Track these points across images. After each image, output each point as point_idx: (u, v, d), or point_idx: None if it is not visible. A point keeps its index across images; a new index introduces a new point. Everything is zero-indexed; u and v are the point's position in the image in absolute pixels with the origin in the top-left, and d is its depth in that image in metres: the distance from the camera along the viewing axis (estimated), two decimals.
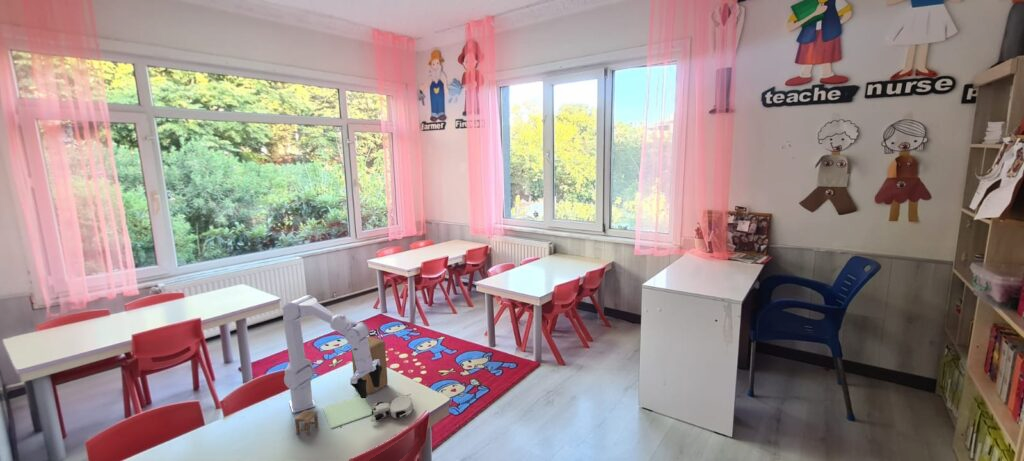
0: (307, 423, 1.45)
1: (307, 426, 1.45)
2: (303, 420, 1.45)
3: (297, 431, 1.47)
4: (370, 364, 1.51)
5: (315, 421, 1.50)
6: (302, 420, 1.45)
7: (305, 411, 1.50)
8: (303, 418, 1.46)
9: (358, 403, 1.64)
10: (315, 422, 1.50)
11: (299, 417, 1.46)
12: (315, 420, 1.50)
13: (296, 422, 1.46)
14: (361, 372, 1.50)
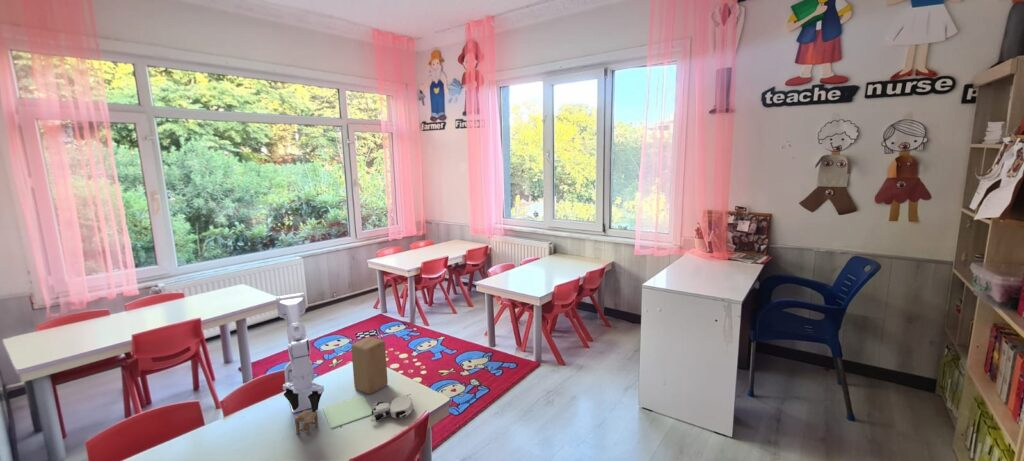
0: (307, 423, 1.45)
1: (307, 426, 1.45)
2: (303, 420, 1.45)
3: (297, 431, 1.47)
4: (296, 385, 1.43)
5: (315, 421, 1.50)
6: (302, 420, 1.45)
7: (305, 411, 1.50)
8: (303, 418, 1.46)
9: (358, 403, 1.64)
10: (315, 422, 1.50)
11: (299, 417, 1.46)
12: (315, 420, 1.50)
13: (296, 422, 1.46)
14: None
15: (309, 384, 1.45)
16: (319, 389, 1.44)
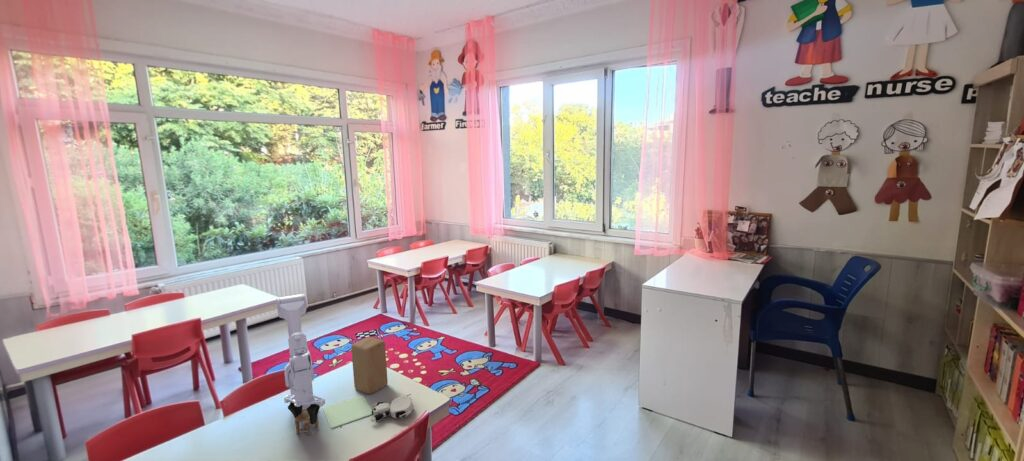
0: (307, 423, 1.45)
1: (307, 426, 1.45)
2: (303, 420, 1.45)
3: (297, 431, 1.47)
4: (297, 398, 1.44)
5: None
6: (302, 420, 1.45)
7: (305, 411, 1.50)
8: (303, 418, 1.46)
9: (358, 403, 1.64)
10: (315, 422, 1.50)
11: (299, 417, 1.46)
12: None
13: (296, 422, 1.46)
14: None
15: (310, 397, 1.46)
16: (320, 402, 1.45)
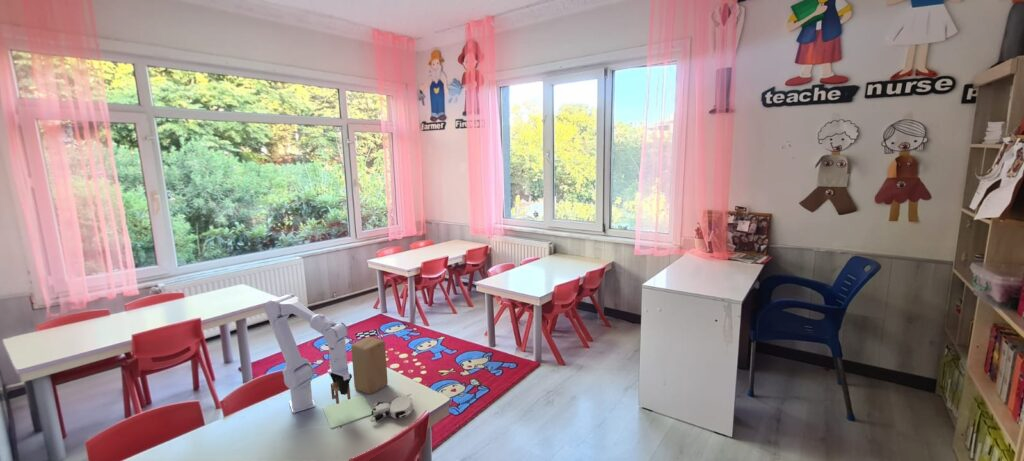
0: (335, 392, 1.53)
1: (335, 395, 1.53)
2: (333, 388, 1.54)
3: (332, 396, 1.57)
4: (330, 365, 1.53)
5: (347, 392, 1.56)
6: (333, 387, 1.54)
7: None
8: (334, 386, 1.54)
9: (358, 403, 1.64)
10: (347, 393, 1.56)
11: (333, 384, 1.56)
12: (347, 391, 1.56)
13: (331, 387, 1.56)
14: None
15: (341, 368, 1.53)
16: (344, 376, 1.50)
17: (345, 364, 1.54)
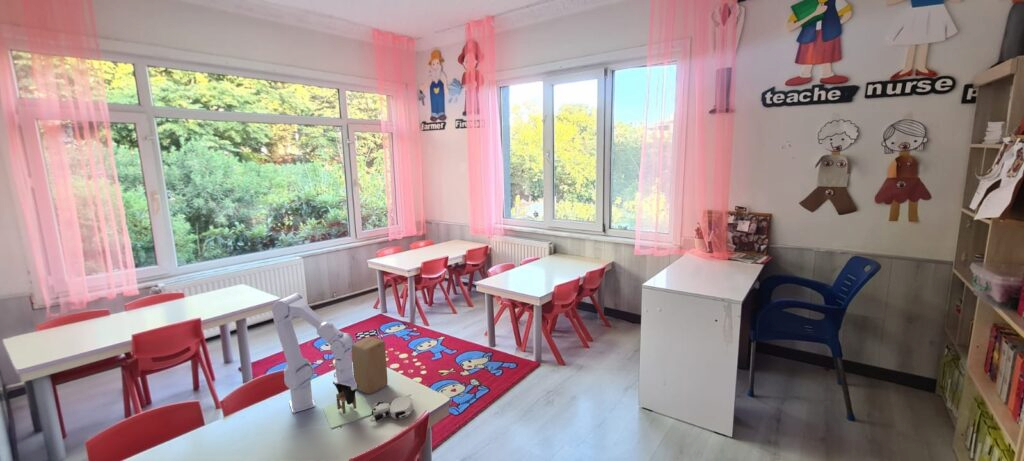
0: (342, 402, 1.55)
1: (342, 405, 1.56)
2: (340, 398, 1.56)
3: (337, 406, 1.59)
4: (337, 376, 1.55)
5: (353, 402, 1.59)
6: (339, 398, 1.56)
7: None
8: (341, 396, 1.57)
9: (358, 403, 1.64)
10: (353, 403, 1.59)
11: (339, 394, 1.58)
12: (353, 401, 1.59)
13: (337, 398, 1.58)
14: None
15: (347, 378, 1.55)
16: (351, 386, 1.52)
17: (351, 374, 1.57)
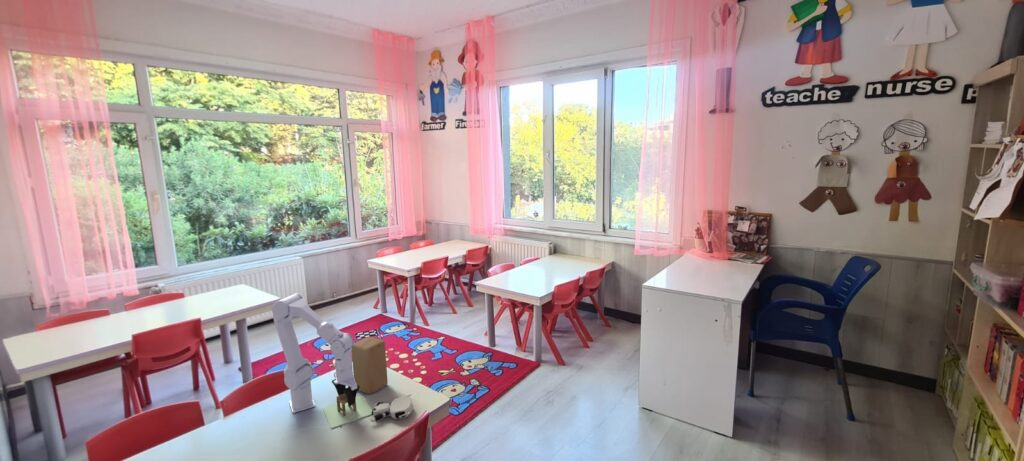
0: (342, 404, 1.55)
1: (342, 407, 1.56)
2: (340, 400, 1.56)
3: (338, 409, 1.59)
4: (337, 376, 1.55)
5: (353, 404, 1.59)
6: (340, 400, 1.56)
7: None
8: (341, 399, 1.57)
9: (358, 403, 1.64)
10: (353, 405, 1.59)
11: (339, 396, 1.58)
12: None
13: (337, 400, 1.58)
14: None
15: (347, 378, 1.55)
16: (351, 386, 1.52)
17: (351, 374, 1.57)
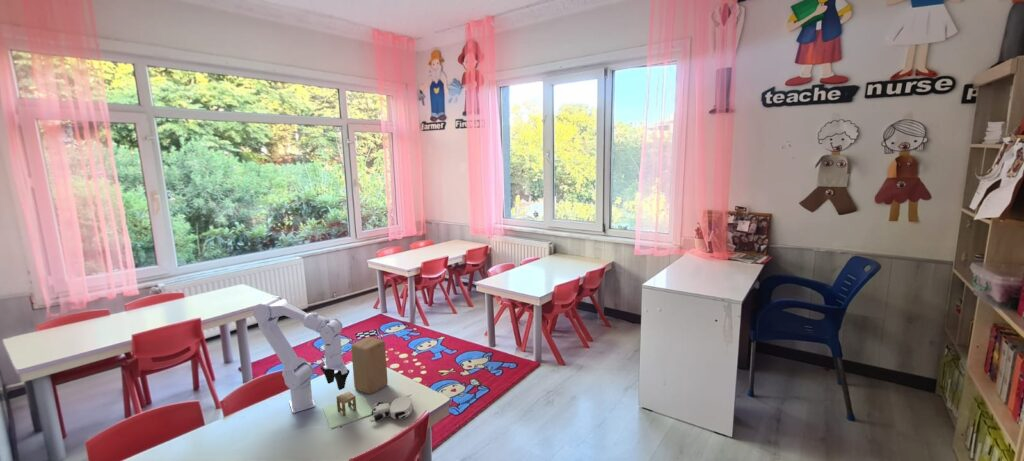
0: (342, 404, 1.55)
1: (342, 407, 1.56)
2: (340, 400, 1.56)
3: (338, 409, 1.59)
4: (326, 361, 1.57)
5: (353, 404, 1.59)
6: (340, 400, 1.56)
7: (348, 392, 1.61)
8: (341, 399, 1.57)
9: (358, 403, 1.64)
10: (353, 405, 1.59)
11: (339, 396, 1.58)
12: (353, 403, 1.59)
13: (337, 400, 1.58)
14: None
15: (337, 363, 1.57)
16: (342, 370, 1.54)
17: (341, 359, 1.58)
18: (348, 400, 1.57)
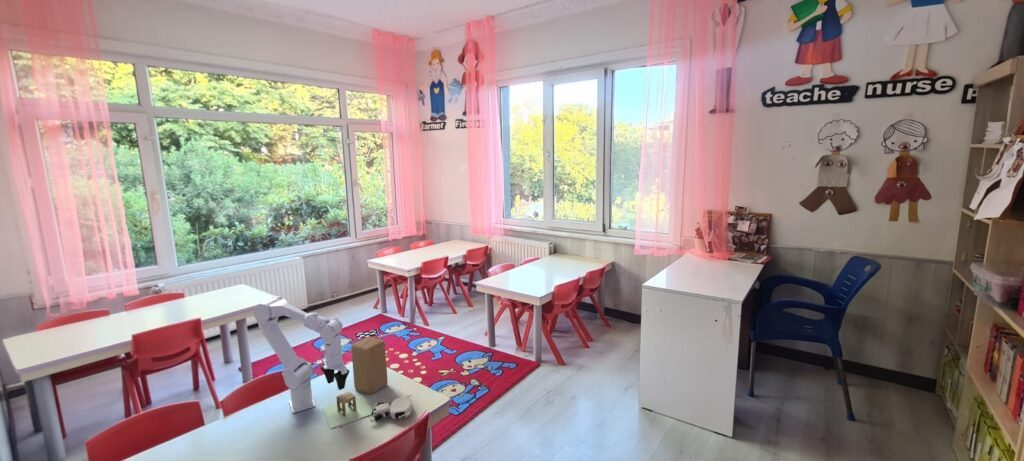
0: (342, 404, 1.55)
1: (342, 407, 1.56)
2: (340, 400, 1.56)
3: (338, 409, 1.59)
4: (326, 361, 1.57)
5: (353, 404, 1.59)
6: (340, 400, 1.56)
7: (348, 392, 1.61)
8: (341, 399, 1.57)
9: (358, 403, 1.64)
10: (353, 405, 1.59)
11: (339, 396, 1.58)
12: (353, 403, 1.59)
13: (337, 400, 1.58)
14: None
15: (337, 363, 1.57)
16: (342, 370, 1.54)
17: (341, 359, 1.58)
18: (348, 400, 1.57)
